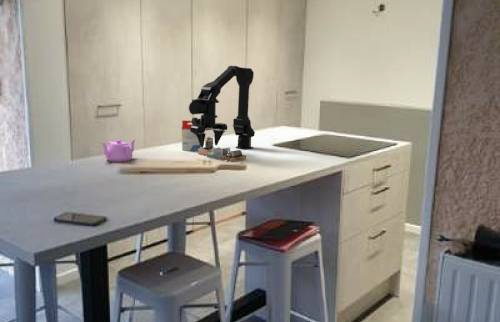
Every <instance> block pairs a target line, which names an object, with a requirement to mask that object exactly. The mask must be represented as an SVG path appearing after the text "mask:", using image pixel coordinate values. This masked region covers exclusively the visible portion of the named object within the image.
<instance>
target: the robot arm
mask: <svg viewBox="0 0 500 322" xmlns="http://www.w3.org/2000/svg"><path fill="white" fill-rule="evenodd" d="M234 77H235V79H236V82H237V85H238V102H237V105H238V107H237V115H236V117H235V118H233V119H232V121H233V124H232V127H233V131H234V133H235V134H234V135H235V136H237V146H235V148H237V149H240V150H241V149H242V150H248V149H254V146H252V138H253V137H255V134H256V131H255V130H254V129H253V128H252V125H251V124H252V122H251V120H250V117H249V102H250V86H251V85H252V83H253V80H254V71H253V69H252V68H250V67H240V66H237V65H229V66H228V67H227V68H226V69H225V70H224V71H223V72H221V74H220V75H218V76H217V77H216V78H215V79H214V80H213V81H211V82H208V83H206V84H204V85H203V86H202V87H201V88H200V91H199V93H198V95H197V97H196V99H195V98H193V99H191V102H190V103H189V105H188V111H189V113H190V114H191V115H200V118H198V117H192V119H191V121H192V123H191V124H192V125H195V126H191V128H190V132H193V134H195V135H196V136H197V138H198V140H199V143H200V146H201V148H203V147H204V146H205V138H206V133H205V131H212V132H213V133H214V136H213V139H214V146H218V144H219V142H220V140H221V138H222V136H223V135H224V133H225V132H226V131H227V130H228V125H227V123H222V122H216V118H217V119H218V115H216V111H217V110H216V108H217V107H216V104H219V103H220V101H219V100H218V99H217V97H218V96H219V95H220V94H221V90H222V88H223V87H224V86H225V85H227V83H229V82H230V81H231V80H232V79H233V78H234Z"/></svg>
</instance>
